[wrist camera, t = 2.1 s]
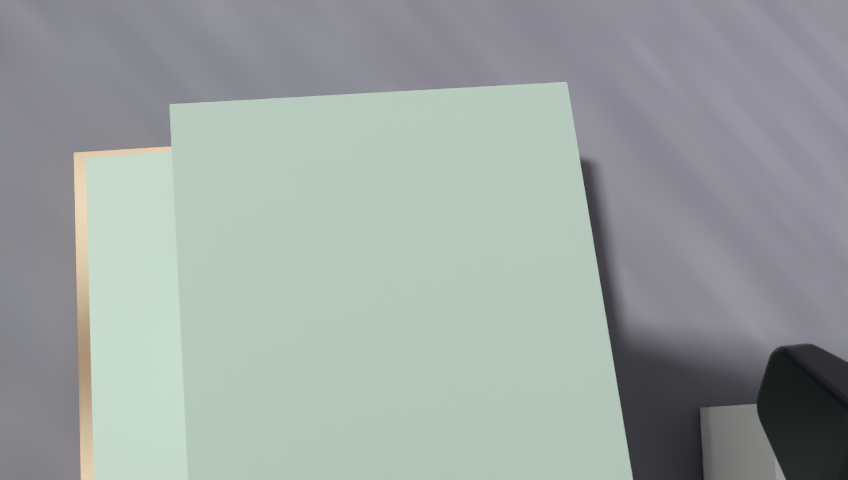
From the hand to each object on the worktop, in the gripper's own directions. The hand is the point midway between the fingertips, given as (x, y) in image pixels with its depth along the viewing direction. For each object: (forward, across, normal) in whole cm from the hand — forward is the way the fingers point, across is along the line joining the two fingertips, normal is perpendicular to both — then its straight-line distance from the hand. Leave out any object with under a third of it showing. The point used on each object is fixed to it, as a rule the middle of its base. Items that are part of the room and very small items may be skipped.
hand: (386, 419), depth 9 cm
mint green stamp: (+7, 0, +5) cm, 9 cm away
